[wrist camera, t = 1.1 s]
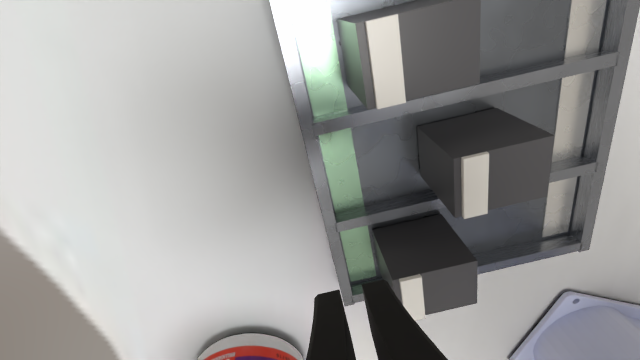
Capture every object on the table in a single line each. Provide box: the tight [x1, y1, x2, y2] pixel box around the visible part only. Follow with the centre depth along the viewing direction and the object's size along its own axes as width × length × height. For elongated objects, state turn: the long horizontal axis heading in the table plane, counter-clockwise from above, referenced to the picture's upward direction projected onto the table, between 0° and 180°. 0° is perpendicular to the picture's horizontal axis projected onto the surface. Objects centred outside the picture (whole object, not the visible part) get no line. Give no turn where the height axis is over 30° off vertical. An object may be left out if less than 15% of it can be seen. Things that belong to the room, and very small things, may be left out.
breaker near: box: [337, 0, 481, 110], centre depth 13 cm, size 4×3×4 cm
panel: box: [269, 0, 640, 306], centre depth 17 cm, size 15×17×2 cm
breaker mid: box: [417, 108, 555, 219], centre depth 16 cm, size 4×3×4 cm
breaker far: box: [372, 214, 477, 321], centre depth 18 cm, size 4×3×4 cm
